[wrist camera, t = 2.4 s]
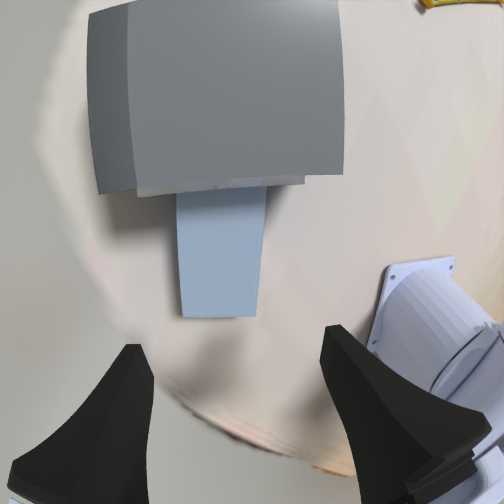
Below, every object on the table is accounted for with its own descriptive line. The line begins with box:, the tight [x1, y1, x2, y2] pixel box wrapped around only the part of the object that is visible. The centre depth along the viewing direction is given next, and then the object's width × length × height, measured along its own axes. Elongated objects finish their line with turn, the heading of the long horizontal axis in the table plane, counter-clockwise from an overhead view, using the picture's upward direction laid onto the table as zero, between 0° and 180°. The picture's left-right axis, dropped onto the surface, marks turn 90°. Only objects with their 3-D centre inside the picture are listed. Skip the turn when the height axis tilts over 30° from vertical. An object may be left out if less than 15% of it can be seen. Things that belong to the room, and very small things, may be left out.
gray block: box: [87, 0, 344, 198], centre depth 11 cm, size 9×10×6 cm
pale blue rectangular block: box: [176, 186, 267, 317], centre depth 15 cm, size 15×4×3 cm, turn 176°
